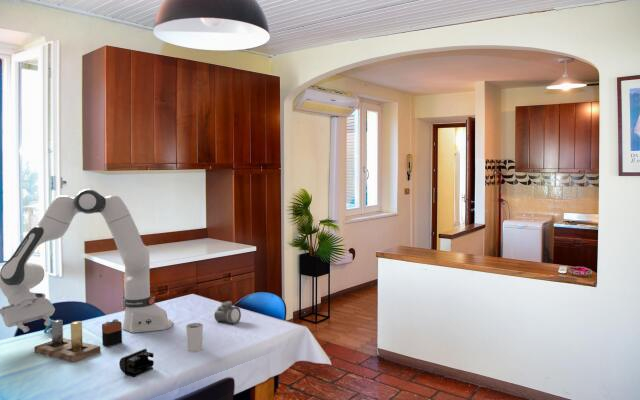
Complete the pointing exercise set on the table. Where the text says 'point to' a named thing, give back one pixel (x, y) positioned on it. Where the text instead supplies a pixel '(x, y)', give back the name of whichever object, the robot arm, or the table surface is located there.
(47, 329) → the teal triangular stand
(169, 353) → the table surface
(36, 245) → the robot arm
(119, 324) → the battery
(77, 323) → the brass leg
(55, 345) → the steel leg
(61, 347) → the hole plate
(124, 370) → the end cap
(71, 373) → the table surface
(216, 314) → the pipe fitting
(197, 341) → the grey cup
